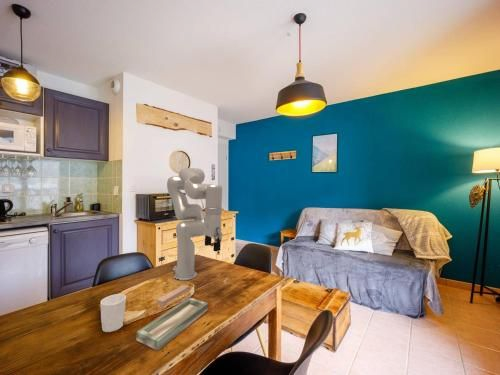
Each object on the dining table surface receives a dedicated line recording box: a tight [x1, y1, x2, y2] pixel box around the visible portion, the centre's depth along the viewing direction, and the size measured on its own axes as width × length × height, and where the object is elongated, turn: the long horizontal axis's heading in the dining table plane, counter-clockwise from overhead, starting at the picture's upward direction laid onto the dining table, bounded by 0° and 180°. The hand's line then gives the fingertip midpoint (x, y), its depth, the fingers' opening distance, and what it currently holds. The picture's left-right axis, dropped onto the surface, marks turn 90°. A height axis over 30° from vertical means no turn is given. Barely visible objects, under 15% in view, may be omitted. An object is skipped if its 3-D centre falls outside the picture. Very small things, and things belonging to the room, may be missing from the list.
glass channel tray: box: [135, 297, 209, 352], centre depth 84 cm, size 10×26×3 cm, turn 154°
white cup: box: [100, 293, 127, 333], centre depth 81 cm, size 8×8×10 cm
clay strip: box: [156, 284, 190, 311], centre depth 100 cm, size 4×16×4 cm, turn 154°
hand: (212, 248), depth 103 cm, fingers open, 9 cm apart
